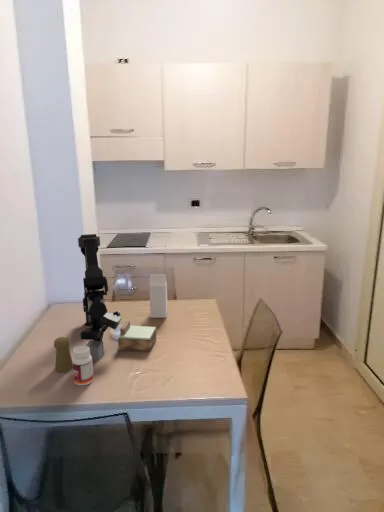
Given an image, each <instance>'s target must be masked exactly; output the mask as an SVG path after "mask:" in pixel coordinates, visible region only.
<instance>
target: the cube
mask: <svg viewBox="0 0 384 512" xmlns="http://www.w3.org/2000/svg"><path fill="white" fill-rule="evenodd" d="M85 346H88V347H89V348H90V355H91V356H92V361H100V360H101V358H102V357H103V355H105V349H104V348H105V347H104V340H102V341H93V340H88V343H86V345H85Z"/></svg>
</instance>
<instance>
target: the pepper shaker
mask: <svg viewBox="0 0 384 512" xmlns="http://www.w3.org/2000/svg"><path fill="white" fill-rule="evenodd" d="M70 344H71V340H70V338H68V337H66V336H60V337H59V336H58V337H57V338H56V339H54V342H53V347H54V348H55V365H54V366H55V368H54V370H55V372H57V373H68V372H70V371H73V365H72V355H71V352H70V351H71V350H70V348H69V347H70Z"/></svg>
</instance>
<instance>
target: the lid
mask: <svg viewBox="0 0 384 512" xmlns="http://www.w3.org/2000/svg"><path fill="white" fill-rule="evenodd" d="M155 329H156V330H157V327H156V326H147V325H146V326H143V325H131V321H130V320H129V321H128V320H125V322H124V323H123V324H122V326H121V327H120V329H119V330H120V331H119V334H118V336H117V339H118V338H123V339H140V340H150V338H151V337H152V335H153V333H154V331H155Z"/></svg>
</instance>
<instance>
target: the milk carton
mask: <svg viewBox="0 0 384 512" xmlns="http://www.w3.org/2000/svg"><path fill="white" fill-rule="evenodd" d="M148 283H149V284H148V286H149V311H150V312H149V315H150V318H154V319H155V318H157V319H158V318H161V319H162V318H165V319H166V318H167V316H168V281H167V274H149V282H148Z"/></svg>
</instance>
